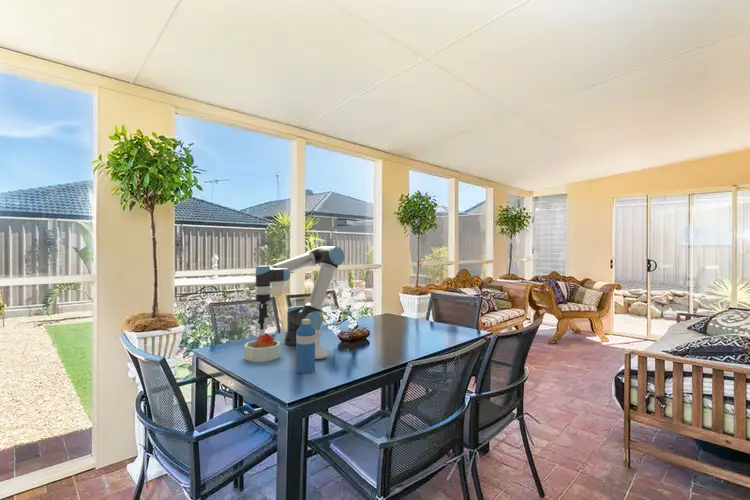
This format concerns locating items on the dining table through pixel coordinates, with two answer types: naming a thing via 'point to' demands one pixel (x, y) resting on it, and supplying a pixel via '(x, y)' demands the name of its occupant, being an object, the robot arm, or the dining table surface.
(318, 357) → the flower in vase
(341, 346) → the dining table surface
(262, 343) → the apple
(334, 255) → the robot arm
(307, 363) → the water bottle
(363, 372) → the dining table surface
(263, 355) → the white faceted bowl
